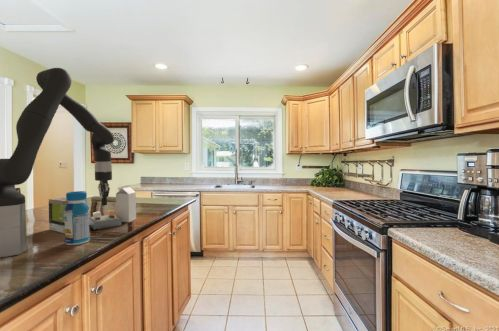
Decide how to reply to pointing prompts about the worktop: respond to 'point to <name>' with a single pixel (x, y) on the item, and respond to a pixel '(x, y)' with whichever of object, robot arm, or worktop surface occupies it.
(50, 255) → the worktop surface
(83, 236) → the blue plastic bottle
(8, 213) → the robot arm
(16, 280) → the worktop surface
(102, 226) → the switch box
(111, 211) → the paddle orange
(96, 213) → the paddle white
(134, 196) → the milk carton
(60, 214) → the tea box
